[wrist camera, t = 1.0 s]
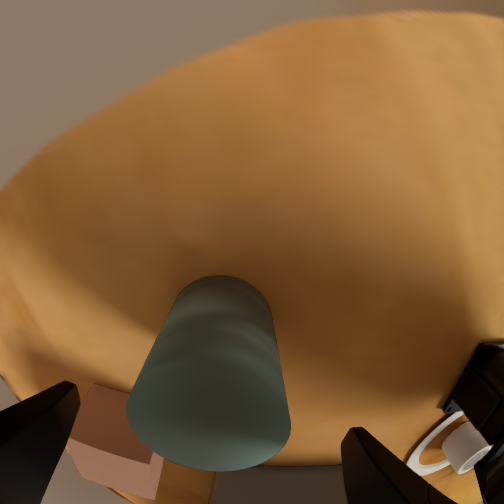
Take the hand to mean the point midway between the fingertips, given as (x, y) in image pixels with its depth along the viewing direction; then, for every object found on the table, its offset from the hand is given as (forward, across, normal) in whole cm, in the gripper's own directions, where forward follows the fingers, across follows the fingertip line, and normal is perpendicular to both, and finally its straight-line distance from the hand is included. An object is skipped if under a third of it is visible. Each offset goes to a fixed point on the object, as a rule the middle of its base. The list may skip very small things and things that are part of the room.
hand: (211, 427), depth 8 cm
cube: (+7, +5, +9) cm, 12 cm away
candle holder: (+7, -24, +11) cm, 27 cm away
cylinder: (+7, 0, 0) cm, 7 cm away
